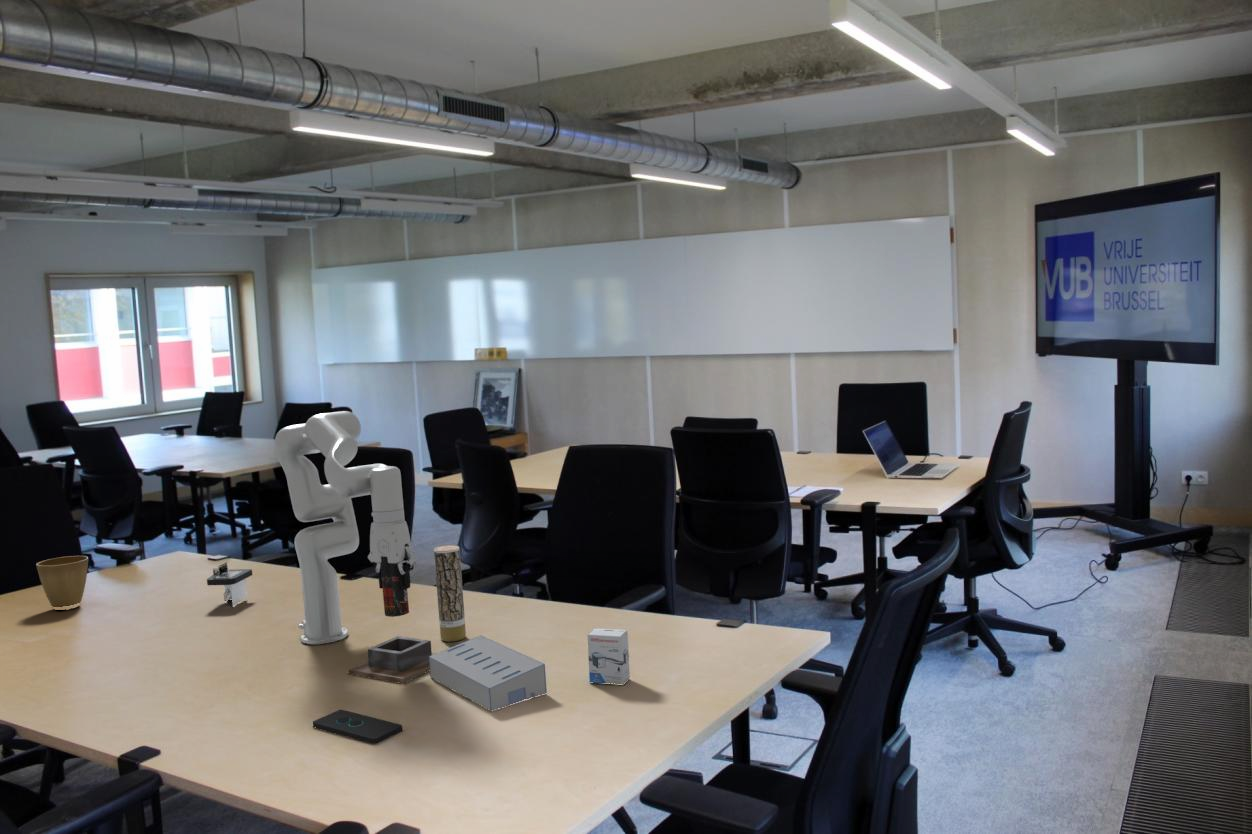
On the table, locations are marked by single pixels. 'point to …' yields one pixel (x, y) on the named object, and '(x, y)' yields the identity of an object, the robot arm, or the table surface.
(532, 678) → the warehouse
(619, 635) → the ink box
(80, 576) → the plant pot
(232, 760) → the table surface
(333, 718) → the smart home device
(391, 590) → the deodorant
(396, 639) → the holder
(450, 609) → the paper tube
